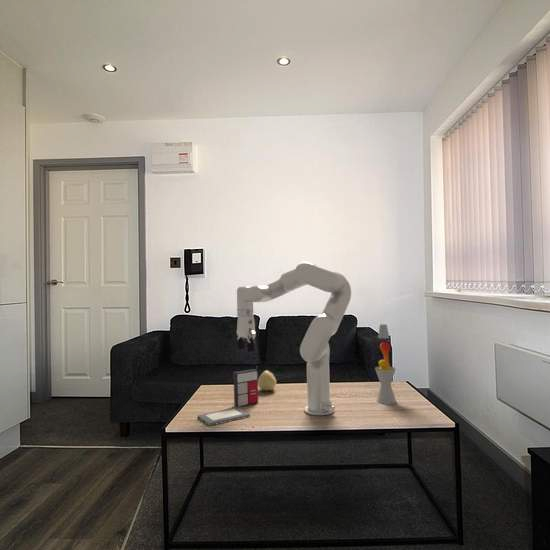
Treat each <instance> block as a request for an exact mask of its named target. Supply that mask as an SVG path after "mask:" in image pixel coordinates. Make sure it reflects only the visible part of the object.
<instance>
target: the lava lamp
mask: <svg viewBox="0 0 550 550" xmlns="http://www.w3.org/2000/svg"><path fill="white" fill-rule="evenodd" d="M378 328H379V329H378V337H377V338H378V339H389V338H390V335H389V330H388V325H387V324H385V323H380V324H379V327H378ZM379 348H380V351H381V353H382V355H383V359H380V360H379V361H378V366H375V367H374V369H375V372H376V376H377V378H378V380H379V383H380V386H379V390H378V392H377V393H378V395H377V398H376V403H378V404H382V403H384V404H383V405H394V404H396V403H397V399H396V397H395V393H394V391H393V388H392V381H393V379H394V375H395V372H396V368H395V367H393V366H390V365H391V364H390V362H389V353H390V348H391V347H390V344H389V343H388V342H387V341H383V342H381V343H380V345H379ZM393 403H394V404H393Z"/></svg>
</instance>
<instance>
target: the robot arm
mask: <svg viewBox="0 0 550 550" xmlns="http://www.w3.org/2000/svg"><path fill="white" fill-rule="evenodd" d="M307 285H308V286H310V287H312V288H315V289H318V290H321V291H323V292H325V293H330V297H329V299H328V300H327V301H326V304H325V305H324V306H325V307H324V309H323V311H322V312H321V314H320V315H317V316H316V317H314V318H313V320H311V323H310V324H309V326H308V329H307V330H306V332H305V335H304V337H303V338H302V339H303V340H302V341H301V344H300V347H299V353H300V356H301V358H302V360H304V361H305V362H306V384H307V385H306V389H307V392H306V393H307V394H306V395H307V405H306V406H304V409H303V410H304V412H305V413H306V414H308V415H311V416H327V415H328V416H329V415H331V414H333V413H334V412H335V410H336V407H335V405H333V404H332V402H333V401H332V400H331V389H330V388H331V387H330V386H331V385H330V354H331V351H330V344H329V341H330V339H331V337H332V336H333V335H335V334H336V333H337V332H338V328H339V327H340V324H341V322H342V320H343V318H344V316H345V313H346V311H347V309H348V306H349V304H350V303H351V297H352V289H351V288H352V287H351V285H350V282H349V281H348V279H347V278H346V277H345V276H344V275H343V274H342V273H340V272H335V271H331V270H328V269H326V268H322V267H320V266H317V265H316V264H315V263H313V262H308V261H303V262H300V263H299V264H297V265H296V267H295V268H293V269H291V270H289V271H286V272H284V273H282V274H281V275H280V278H279V279H277V280H275V281H273V282H272V283H269V284H267V285H254V286H239V287H237V289H236V311H237V312H236V314H237V315H236V317H237V323H236V324H237V326H236V330H235V331H236V333H235V334H236V337H237V338H236V340H237V349H238V350H242V349H243V350H244V349H245V339H246V341H247V345H246V346H247V349H246V350H247V353H248V352H249V353H250V352H254V351H255V342H256V341H255V340H256V336H257V334H256V321H255V317H254V303H266V302H270V301H273V300H275V299H277V298H280V297H282V296H284V295H287V294H288V293H290V292H293V291H295V290H297V289H299V288H302V287H304V286H307Z"/></svg>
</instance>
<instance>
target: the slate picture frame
mask: <svg viewBox="0 0 550 550" xmlns="http://www.w3.org/2000/svg"><path fill="white" fill-rule="evenodd" d="M248 416H250V417H251V413H249V412H247V411H245V410H243V409H241V407H237V406H235V407H230V408H225V409H221V410H216V411H212V412H207V413H203V414H197V418H198V417H199V418H200V419H202V420H203V421H204V422H206V423H207V424H208V425H212V424H216V423H220V424H222V423H221V422H225V421H229V420H233V421H235V420H234V419H237V420H239V419H238V418H242V419H244V418H243V417H246V418H249V417H248ZM199 418H198V419H199ZM200 419H199V420H200ZM202 420H201V421H202ZM203 421H202V422H203ZM204 422H203V423H204ZM229 422H230V421H229ZM206 423H205V424H206ZM225 423H226V422H225ZM207 424H206V425H207ZM208 425H207V426H208ZM216 425H217V424H216ZM212 426H213V425H212Z"/></svg>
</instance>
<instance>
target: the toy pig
mask: <svg viewBox="0 0 550 550" xmlns="http://www.w3.org/2000/svg"><path fill="white" fill-rule="evenodd" d="M276 385H277V379H276V375H275V373H273V372H271V371H270V370H268V369H267V370H264V371H263V372H262V373H261V374H260V376H258V388H259V390H260V391H274V389H275V387H276Z"/></svg>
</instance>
